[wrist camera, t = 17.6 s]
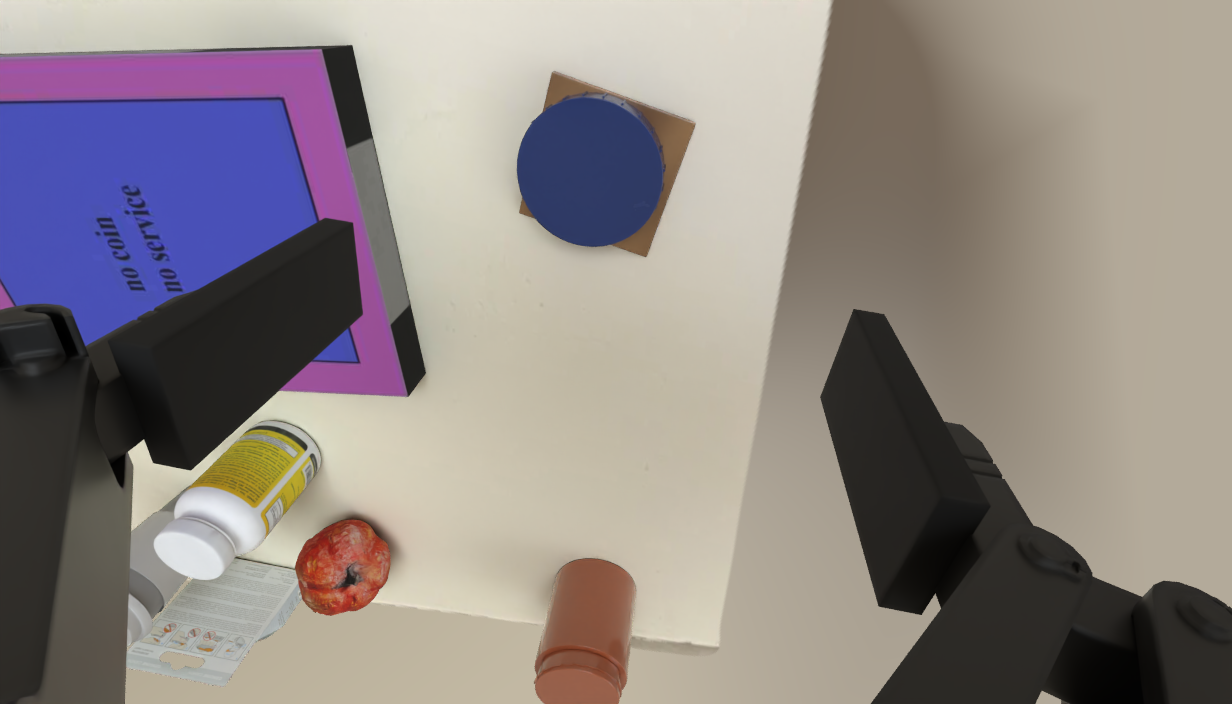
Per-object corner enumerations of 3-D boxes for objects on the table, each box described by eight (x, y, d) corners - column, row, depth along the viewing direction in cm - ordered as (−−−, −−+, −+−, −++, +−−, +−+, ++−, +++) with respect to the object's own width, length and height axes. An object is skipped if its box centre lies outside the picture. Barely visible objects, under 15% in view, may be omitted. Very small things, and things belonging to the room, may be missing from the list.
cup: (160, 469, 52) (26, 586, 41) (232, 478, 51) (114, 599, 41) (187, 527, 55) (70, 648, 45) (254, 536, 55) (152, 660, 44)
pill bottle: (234, 425, 48) (120, 530, 38) (296, 410, 46) (192, 516, 37) (278, 482, 51) (182, 593, 41) (338, 470, 49) (252, 582, 39)
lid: (510, 209, 35) (501, 219, 34) (544, 68, 31) (535, 72, 29) (637, 254, 36) (635, 267, 34) (687, 121, 31) (686, 128, 30)
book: (408, 396, 40) (19, 378, 44) (425, 373, 43) (57, 357, 46) (321, 49, 30) (-183, 61, 33) (351, 45, 32) (-120, 57, 36)
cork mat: (695, 122, 32) (695, 124, 32) (646, 253, 36) (646, 257, 36) (554, 70, 32) (551, 72, 31) (521, 209, 36) (518, 213, 35)
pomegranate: (383, 553, 57) (424, 591, 50) (309, 607, 53) (341, 657, 46) (345, 491, 55) (382, 521, 47) (264, 543, 51) (290, 585, 43)
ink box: (312, 587, 58) (234, 707, 48) (220, 569, 58) (123, 685, 48) (308, 567, 56) (226, 687, 46) (214, 549, 56) (112, 664, 47)
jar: (647, 573, 51) (637, 683, 43) (621, 621, 55) (608, 731, 46) (567, 548, 50) (542, 655, 42) (547, 598, 54) (520, 704, 46)
